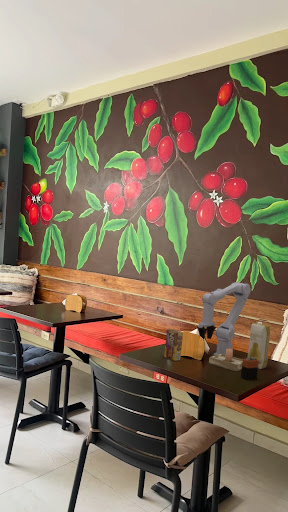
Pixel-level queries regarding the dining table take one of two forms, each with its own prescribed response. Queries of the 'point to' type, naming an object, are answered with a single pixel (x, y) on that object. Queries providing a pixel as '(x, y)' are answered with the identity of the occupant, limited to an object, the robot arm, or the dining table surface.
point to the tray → (220, 362)
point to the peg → (229, 355)
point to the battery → (249, 368)
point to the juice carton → (259, 343)
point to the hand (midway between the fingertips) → (205, 339)
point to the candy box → (173, 344)
